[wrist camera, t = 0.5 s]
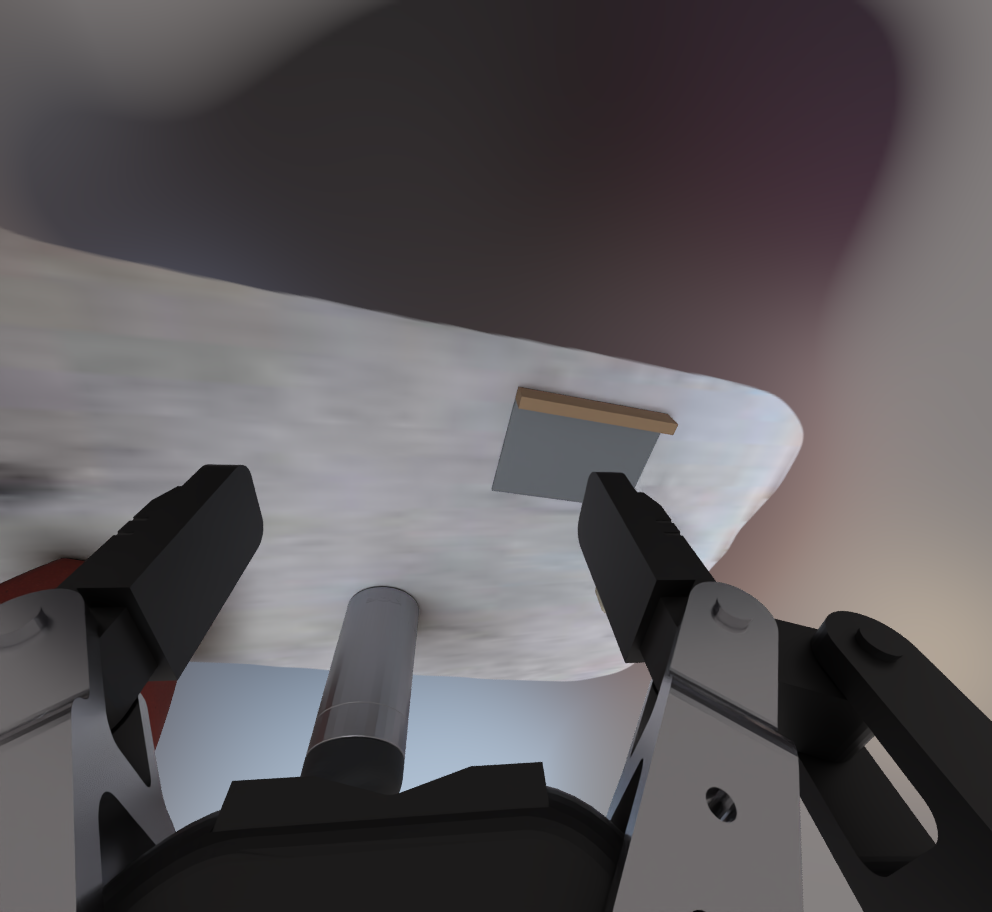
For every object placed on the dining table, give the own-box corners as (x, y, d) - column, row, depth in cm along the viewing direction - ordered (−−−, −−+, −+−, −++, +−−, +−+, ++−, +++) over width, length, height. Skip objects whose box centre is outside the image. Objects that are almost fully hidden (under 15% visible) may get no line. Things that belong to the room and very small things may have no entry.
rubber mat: (623, 506, 48) (631, 519, 46) (491, 488, 45) (493, 502, 43) (667, 414, 42) (678, 424, 40) (518, 386, 39) (521, 396, 37)
